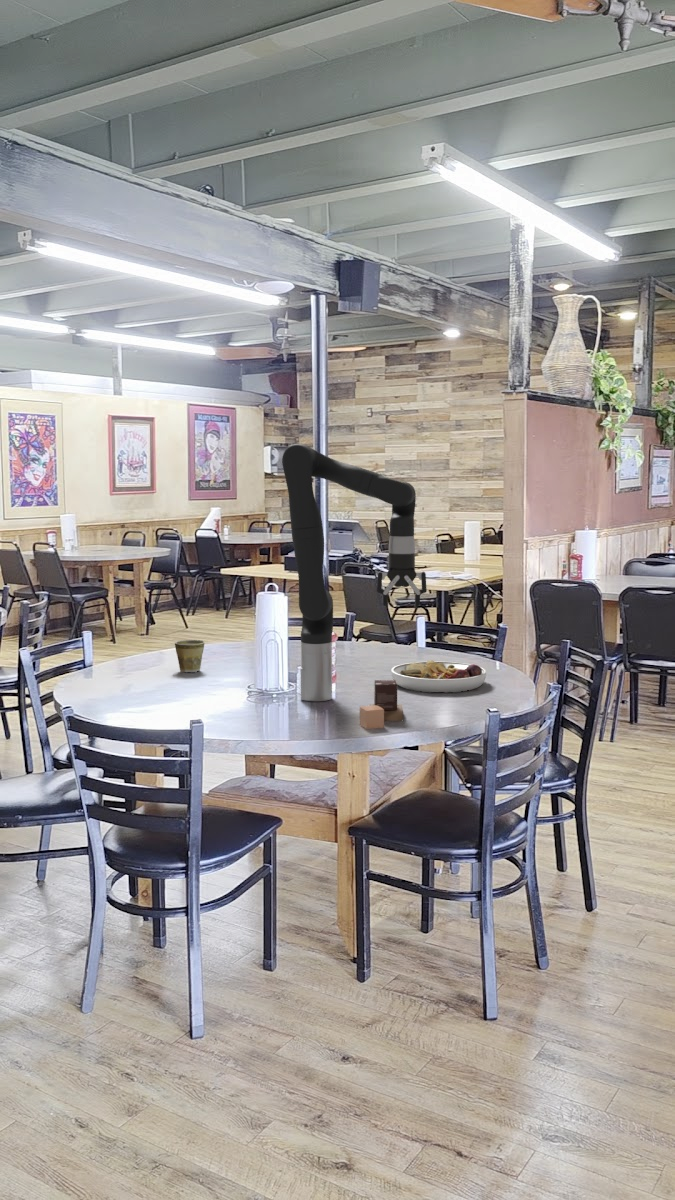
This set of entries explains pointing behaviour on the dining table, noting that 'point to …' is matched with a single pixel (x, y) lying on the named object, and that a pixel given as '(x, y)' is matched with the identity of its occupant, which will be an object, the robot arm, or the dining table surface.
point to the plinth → (393, 714)
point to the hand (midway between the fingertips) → (401, 607)
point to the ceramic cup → (189, 654)
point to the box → (386, 694)
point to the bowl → (438, 676)
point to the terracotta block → (371, 717)
